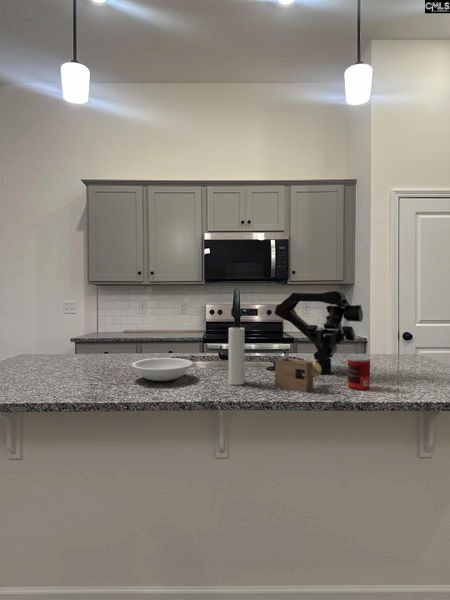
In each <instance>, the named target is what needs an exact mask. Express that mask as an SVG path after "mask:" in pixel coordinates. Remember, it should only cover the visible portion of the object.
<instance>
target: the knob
mask: <svg viewBox="0 0 450 600" xmlns="http://www.w3.org/2000/svg"><path fill="white" fill-rule="evenodd" d="M321 370H322V369H321V366H320V364H319V363H318V362H317V361H316V360H315V361H313V378H314V377H318V376H319V375H321V374H320V373H321ZM303 376H305V370H303Z"/></svg>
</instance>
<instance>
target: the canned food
mask: <svg viewBox="0 0 450 600" xmlns="http://www.w3.org/2000/svg"><path fill="white" fill-rule="evenodd" d="M370 381H371V358H370V357H367V356H361V355H353V356H348V357H347V386H348V388H349V389H351V390H355V391H367V390H369V389H370V387H371V382H370Z"/></svg>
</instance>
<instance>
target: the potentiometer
mask: <svg viewBox="0 0 450 600" xmlns="http://www.w3.org/2000/svg"><path fill="white" fill-rule="evenodd" d="M289 356H290V355H289V353H288V352H287V348H283V352H281V355H280V357H281V360H282V361H288V360H289V359H290V357H289Z"/></svg>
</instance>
